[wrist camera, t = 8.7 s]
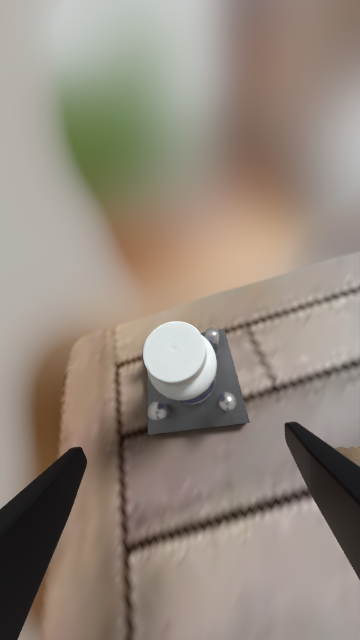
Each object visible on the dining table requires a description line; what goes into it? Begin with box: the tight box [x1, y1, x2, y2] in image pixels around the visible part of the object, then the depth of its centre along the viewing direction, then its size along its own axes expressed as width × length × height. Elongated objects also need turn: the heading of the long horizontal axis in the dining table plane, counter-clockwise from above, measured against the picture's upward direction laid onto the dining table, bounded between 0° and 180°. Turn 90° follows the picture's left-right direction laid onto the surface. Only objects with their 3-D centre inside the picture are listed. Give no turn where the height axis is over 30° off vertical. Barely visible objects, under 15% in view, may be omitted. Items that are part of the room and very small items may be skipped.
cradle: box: [147, 328, 250, 435], centre depth 18 cm, size 10×10×5 cm
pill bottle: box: [143, 321, 217, 404], centre depth 14 cm, size 5×5×10 cm
